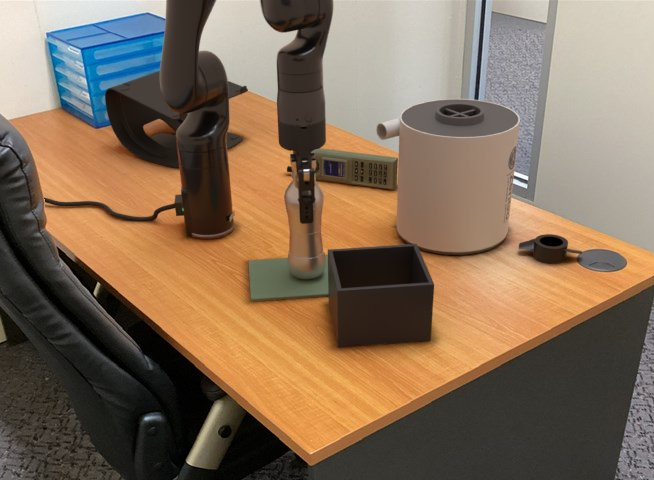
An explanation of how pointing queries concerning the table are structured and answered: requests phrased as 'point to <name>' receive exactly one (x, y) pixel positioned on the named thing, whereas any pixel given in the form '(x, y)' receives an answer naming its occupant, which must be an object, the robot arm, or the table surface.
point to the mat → (283, 281)
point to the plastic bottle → (305, 235)
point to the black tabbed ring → (548, 248)
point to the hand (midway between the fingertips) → (304, 213)
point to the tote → (380, 295)
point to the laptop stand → (150, 118)
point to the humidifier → (454, 174)
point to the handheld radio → (355, 168)
